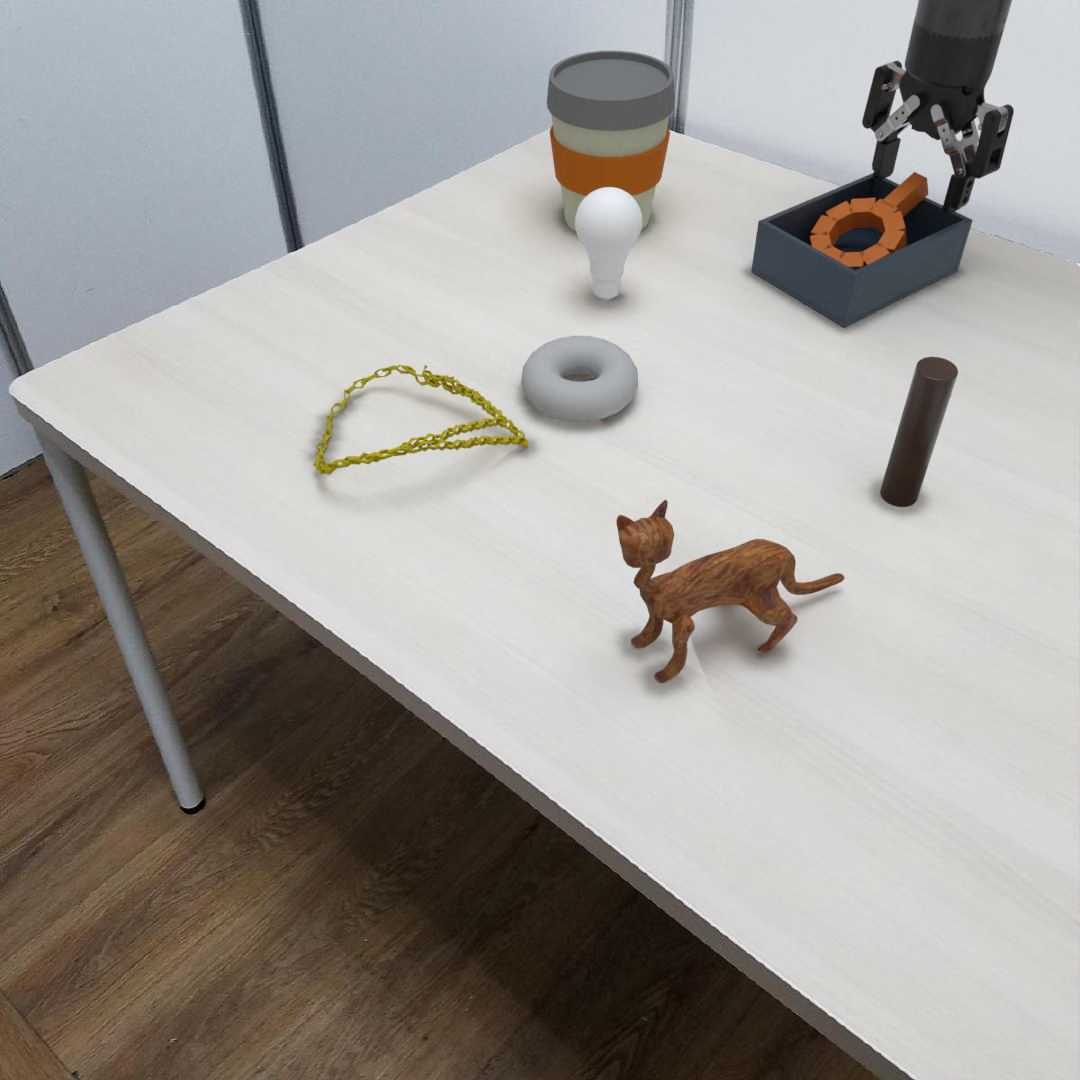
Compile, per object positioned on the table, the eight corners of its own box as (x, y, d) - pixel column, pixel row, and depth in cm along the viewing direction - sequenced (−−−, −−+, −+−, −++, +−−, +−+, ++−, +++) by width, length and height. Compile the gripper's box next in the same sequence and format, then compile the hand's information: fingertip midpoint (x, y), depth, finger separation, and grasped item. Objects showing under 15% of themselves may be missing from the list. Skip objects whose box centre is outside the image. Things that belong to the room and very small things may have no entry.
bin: (863, 221, 112) (874, 172, 108) (957, 271, 105) (973, 219, 101) (751, 271, 105) (758, 220, 102) (843, 327, 98) (855, 275, 95)
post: (907, 480, 84) (946, 353, 75) (923, 504, 82) (965, 377, 73) (873, 486, 83) (909, 359, 75) (889, 510, 81) (927, 382, 73)
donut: (644, 367, 95) (534, 353, 96) (647, 335, 92) (534, 321, 94) (628, 438, 88) (509, 422, 89) (630, 405, 85) (509, 389, 87)
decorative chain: (532, 445, 87) (532, 396, 84) (398, 530, 79) (392, 479, 76) (396, 381, 96) (391, 334, 93) (261, 451, 87) (251, 402, 84)
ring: (861, 296, 101) (858, 281, 99) (795, 257, 106) (791, 241, 105) (958, 209, 102) (957, 192, 100) (888, 174, 107) (886, 157, 105)
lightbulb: (561, 303, 102) (561, 195, 94) (596, 274, 105) (599, 168, 98) (616, 323, 99) (620, 214, 92) (649, 293, 103) (657, 186, 95)
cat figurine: (814, 557, 78) (850, 409, 68) (869, 620, 74) (916, 470, 64) (593, 639, 73) (597, 490, 63) (638, 710, 68) (651, 563, 59)
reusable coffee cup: (523, 217, 114) (519, 74, 103) (606, 178, 120) (610, 39, 109) (607, 261, 107) (612, 114, 96) (690, 218, 113) (704, 74, 102)
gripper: (1058, 31, 90) (1001, 210, 101) (923, -14, 98) (885, 155, 109) (1001, 53, 87) (949, 234, 98) (867, 4, 95) (834, 176, 106)
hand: (916, 192), depth 104 cm, fingers open, 8 cm apart
